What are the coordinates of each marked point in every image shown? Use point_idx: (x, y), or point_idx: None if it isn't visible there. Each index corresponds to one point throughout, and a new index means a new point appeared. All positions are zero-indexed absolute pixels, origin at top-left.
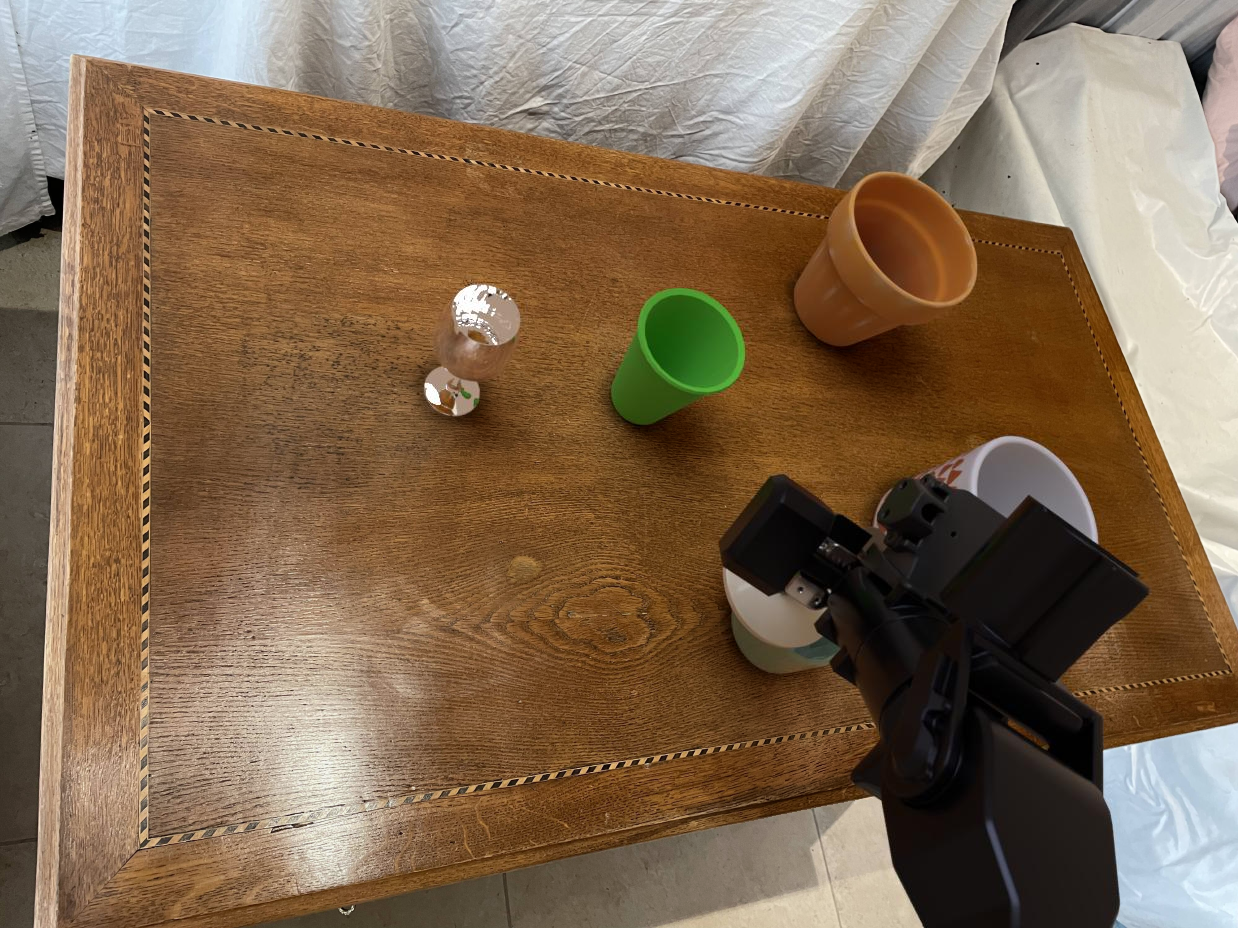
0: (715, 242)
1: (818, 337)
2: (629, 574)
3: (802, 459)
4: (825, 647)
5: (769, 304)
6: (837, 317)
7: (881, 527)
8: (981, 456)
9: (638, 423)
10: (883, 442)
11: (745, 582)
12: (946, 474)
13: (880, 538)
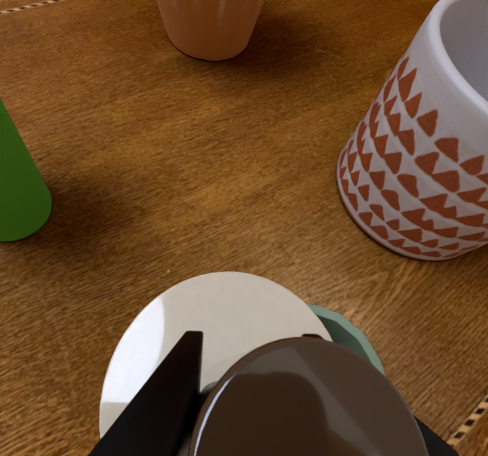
0: (73, 28)
1: (207, 58)
2: (56, 445)
3: (239, 172)
4: None
5: (148, 54)
6: (198, 17)
7: (350, 195)
8: (434, 28)
9: (15, 238)
10: (313, 115)
11: None
12: (394, 90)
13: (329, 403)
